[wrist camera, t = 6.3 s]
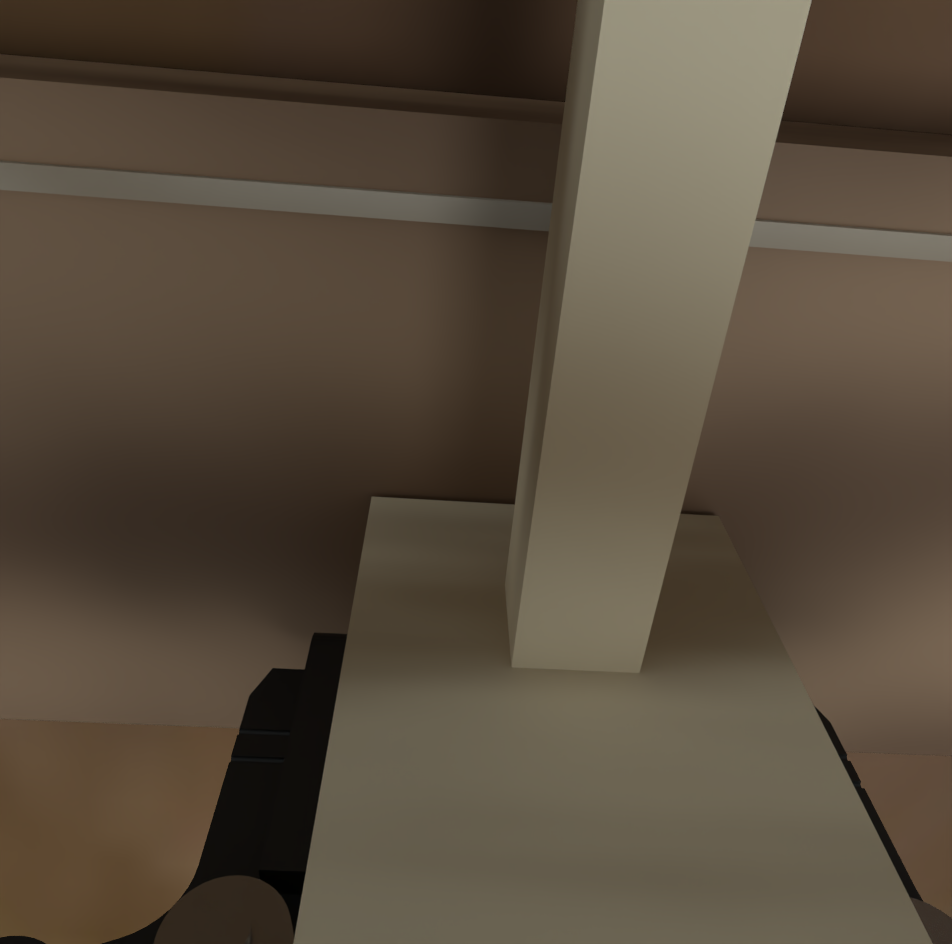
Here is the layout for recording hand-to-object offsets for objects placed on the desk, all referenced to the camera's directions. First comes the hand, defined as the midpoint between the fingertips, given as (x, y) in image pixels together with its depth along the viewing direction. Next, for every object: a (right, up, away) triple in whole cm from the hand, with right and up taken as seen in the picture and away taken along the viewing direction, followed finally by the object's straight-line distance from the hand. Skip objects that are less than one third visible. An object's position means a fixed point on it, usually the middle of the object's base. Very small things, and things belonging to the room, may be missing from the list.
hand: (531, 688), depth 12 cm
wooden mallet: (0, +4, +1) cm, 4 cm away
